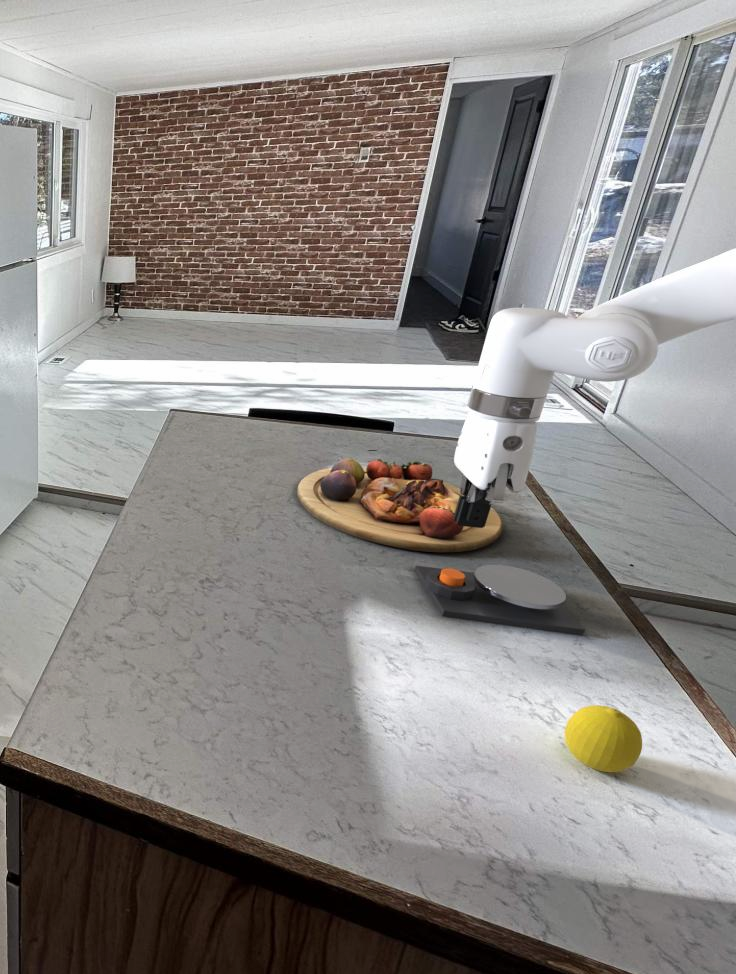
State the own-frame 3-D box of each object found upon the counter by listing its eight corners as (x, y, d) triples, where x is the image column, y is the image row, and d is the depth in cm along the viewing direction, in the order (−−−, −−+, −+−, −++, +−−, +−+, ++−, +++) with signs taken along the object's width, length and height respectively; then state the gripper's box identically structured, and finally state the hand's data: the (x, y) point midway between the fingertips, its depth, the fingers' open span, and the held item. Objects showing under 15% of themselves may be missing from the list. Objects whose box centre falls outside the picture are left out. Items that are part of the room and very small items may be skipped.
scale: (536, 590, 97) (543, 571, 96) (580, 641, 87) (589, 619, 85) (410, 575, 102) (415, 556, 101) (437, 620, 92) (443, 600, 91)
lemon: (632, 771, 68) (660, 714, 65) (617, 798, 65) (646, 740, 62) (563, 737, 72) (587, 682, 70) (547, 762, 70) (571, 706, 67)
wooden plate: (536, 568, 102) (553, 523, 99) (312, 543, 112) (321, 501, 109) (458, 483, 130) (468, 446, 127) (284, 469, 140) (290, 434, 137)
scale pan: (542, 574, 95) (544, 569, 95) (580, 614, 86) (582, 609, 86) (462, 565, 98) (463, 560, 98) (490, 603, 90) (492, 598, 89)
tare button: (458, 578, 96) (461, 569, 95) (465, 589, 93) (468, 580, 93) (436, 575, 97) (438, 567, 96) (443, 586, 94) (445, 577, 94)
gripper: (571, 424, 77) (525, 555, 84) (512, 388, 90) (477, 503, 97) (495, 420, 79) (457, 547, 86) (449, 385, 92) (419, 498, 99)
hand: (468, 523), depth 91 cm, fingers closed
